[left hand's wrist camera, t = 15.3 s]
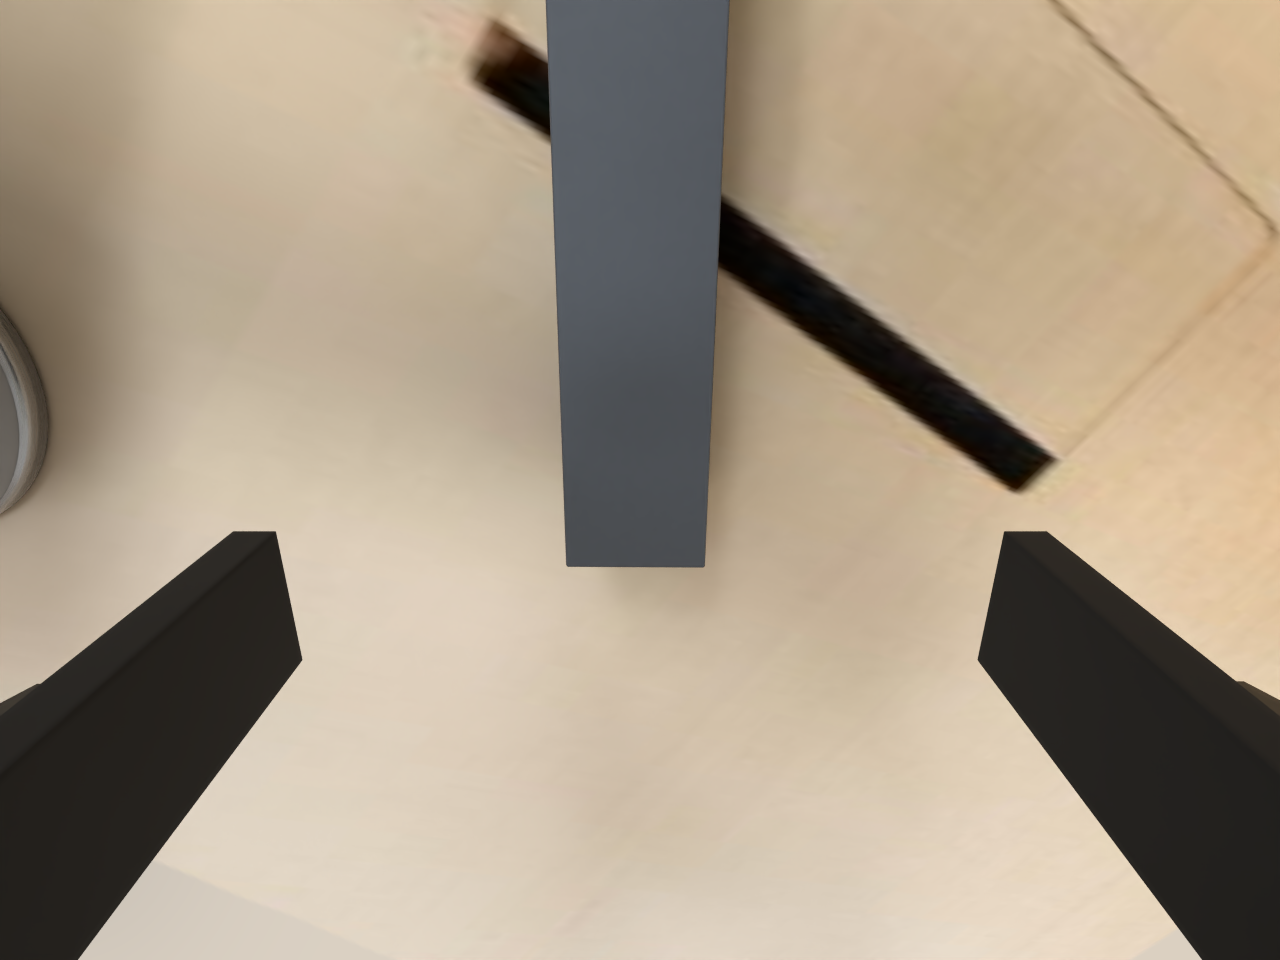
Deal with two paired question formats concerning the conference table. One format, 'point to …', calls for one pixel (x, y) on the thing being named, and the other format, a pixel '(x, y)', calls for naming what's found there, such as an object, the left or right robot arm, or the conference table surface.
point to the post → (636, 270)
